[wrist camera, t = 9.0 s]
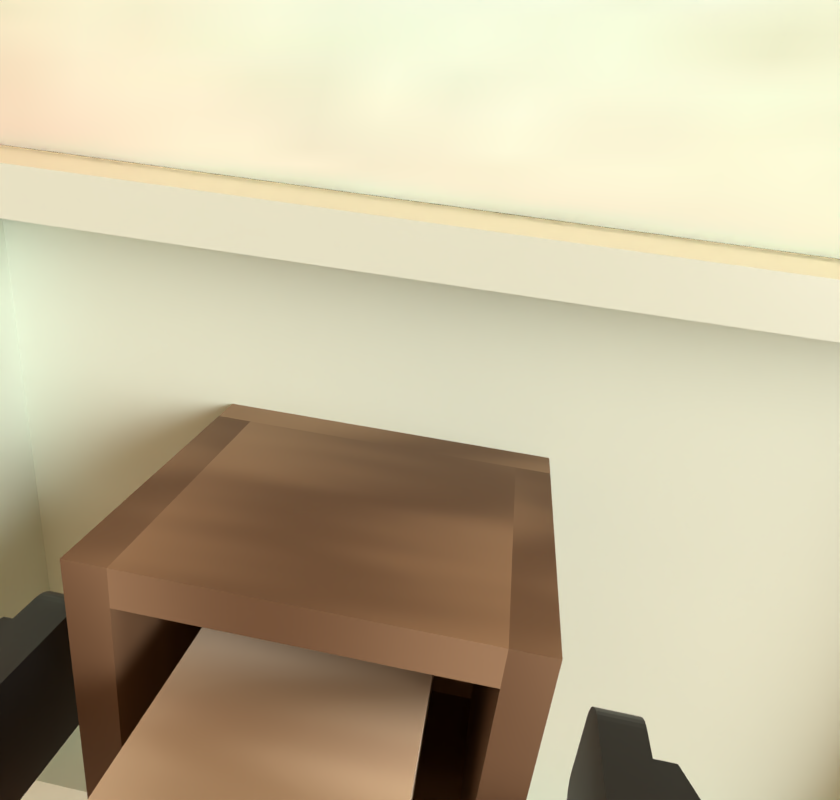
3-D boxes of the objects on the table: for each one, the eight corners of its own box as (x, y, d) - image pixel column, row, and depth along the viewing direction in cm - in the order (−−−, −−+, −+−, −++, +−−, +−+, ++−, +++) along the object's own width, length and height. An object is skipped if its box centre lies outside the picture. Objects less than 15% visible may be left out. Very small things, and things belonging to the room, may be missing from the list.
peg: (458, 527, 12) (349, 1141, 5) (436, 660, 13) (323, 1312, 6) (289, 496, 12) (-64, 1025, 5) (284, 629, 14) (-5, 1212, 6)
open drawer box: (548, 458, 12) (563, 660, 7) (496, 702, 14) (480, 974, 10) (232, 403, 12) (58, 558, 8) (231, 648, 15) (96, 877, 10)
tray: (1180, 305, 10) (1365, 352, 8) (846, 886, 15) (899, 1011, 13) (-22, 141, 12) (-147, 142, 10) (54, 708, 17) (-15, 791, 15)
